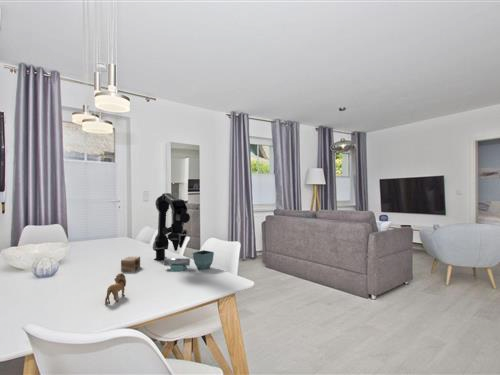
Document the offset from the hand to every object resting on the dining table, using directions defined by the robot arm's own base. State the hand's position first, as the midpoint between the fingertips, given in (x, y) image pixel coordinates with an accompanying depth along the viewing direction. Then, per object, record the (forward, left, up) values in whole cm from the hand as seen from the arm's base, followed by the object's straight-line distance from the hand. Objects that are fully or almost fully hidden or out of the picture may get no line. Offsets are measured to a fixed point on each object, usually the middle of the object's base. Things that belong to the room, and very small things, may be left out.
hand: (178, 249), depth 163 cm
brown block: (0, -28, -11) cm, 30 cm away
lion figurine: (+45, -13, -12) cm, 48 cm away
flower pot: (-2, +14, -11) cm, 18 cm away
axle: (0, -1, -9) cm, 9 cm away
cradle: (0, 0, -11) cm, 11 cm away
